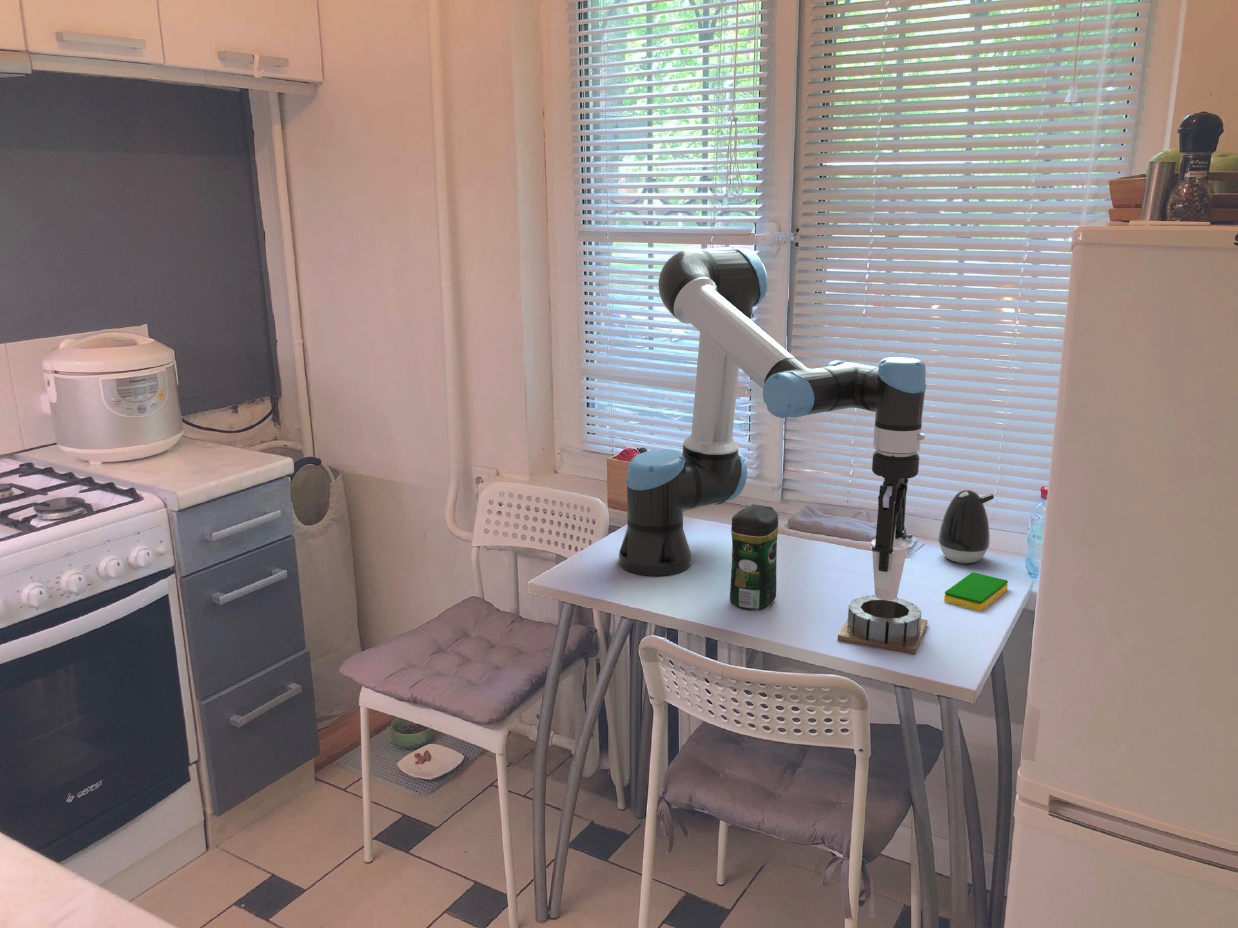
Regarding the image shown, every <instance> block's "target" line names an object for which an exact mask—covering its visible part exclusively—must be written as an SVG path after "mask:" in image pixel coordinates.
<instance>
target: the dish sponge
mask: <svg viewBox="0 0 1238 928" xmlns="http://www.w3.org/2000/svg"><path fill="white" fill-rule="evenodd" d="M1008 583H1009V581H1008V579H1003V578H1000V577H995V576H991V575H987V574H983V573H979V572H973V571H972V572H970V573H969V574H967V575H966V576H965V577H963V578H962V579H961V580H959V581H958V582H956V583H955V584H954V585H952V586H951V587H949V588H948V589H947V590H946V591H944V596H943V597H944V598H943V602H944V603H947V604H950V603H951V604H950V605H954V606H959V607H962V608H966V609H968V610H973V611H976V612H981V611H983V610H984V609H985V608H987V607H988V606H990V604H992V603H993V602H994V601H995V600H997V599H998V598H999V597H1000V596H1002V595H1003V594H1004V593H1005V592H1006V591H1007V590H1008Z"/></svg>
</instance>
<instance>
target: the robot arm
mask: <svg viewBox="0 0 1238 928" xmlns="http://www.w3.org/2000/svg"><path fill="white" fill-rule="evenodd" d="M658 291H659V293H658V294H659V297H660V300H661V301H662V303H663V305H664V307H665V308H666V310H668V312H669V313H670V314H671V315H672V316H673V317H674V318H675V319H677V320H678V321H679V322H680V323H681V324H682V323H683V324H686V325H691V326H693V327H694V328H695V329H696V330H697V331H698V332H699V338H698V339H699V341H698V354H697V364H696V373H695V388H694V399H693V411H692V422H691V424H692V425H691V434H690V435H688V436H687V437H686V438H685V439H684V440H683V443H682V452H680V451H679V450H674V449H664V448H663V449H660V450H659V449H653V450H648V451H644V452H641V453H639V454H637V455H635V456H634V457H632V458H631V460H630V461H629V463H628V466H627V473H626V474H627V475H626V479H625V482H626V485H627V486H626V491H627V492H626V498H627V499H626V504H627V505H626V508H627V509H626V510H627V512H626V514H627V515H626V516H627V517H626V518H627V520H626V521H627V525H626V526H627V527H626V531H625V534H624V537H623V539H622V541H621V542H622V543H621V546H620V549H619V553H618V562H619V563H618V564H619V566H620V567H621V568H622V569H624V570H625V571H627V572H630V573H633V574H636V575H637V574H638V575H643V576H651V577H653V576H659V577H660V576H669V575H675V574H678V573H682V572H684V571H686V570H687V569H689V568H690V567H691V565H692V552H691V550H690V549H691V548H690V546H689V543H688V539H687V535H686V534H685V529H684V512H685V511H690V510H691V511H692V510H695V509H700V508H704V507H709V506H713V505H722V504H724V503H726V502H729V501H732V500H734V499H736V498H737V497H738V496H740V494H741V493H742V492H743V490H744V488H745V486H746V483H747V479H748V466H747V465H748V464H746V463H745V460H746V459H745V457H744V455H743V454H742V452H741V451H740V450H739V444H738V443H737V442H736V441H735V440H734V438H733V433H734V421H735V420H734V419H735V413H736V412H735V411H736V401H737V391H738V380H739V372H740V370H741V371H742V372H743V373H745V375H747V376H748V377H749V378H750V379H751V380H752V381H753V382H755V383H756V384H757V385H758V386H759V387H760V388H762V399H763V403H765V404H766V410H767V411H768V412H769V413H770V414H771V415H773V416H774V417H776V418H779V419H785V418H792V419H793V418H794V419H796V418H801V417H805V416H811V415H815V414H820V413H821V414H822V413H826V412H827V413H828V412H834V411H840V410H845V409H854V408H855V409H860V410H865V411H868V412H872V413H873V412H875V417H874V418H875V420H874V421H875V422H874V428H873V429H874V430H873V431H874V432H873V443H872V447H873V449H874V452H872V464H871V471H872V473H873V474H874V475H876V476H878V477H882V478H883V479H884V481H883V483H882V484H881V485H880V486H879V490H878V491H879V492H878V497H877V500H878V503H877V505H878V506H877V509H878V510H877V517H876V518H877V519H876V521H877V522H876V531H875V539H876V541H875V547H874V548H872V549H871V551H875V552H877V556H876V571H875V585H874V584H873V585H874V588H875V587H878V588H885V589H891V586H892V573H893V559H894V552H893V543H894V535H895V539H900V540H903V539H906V538H907V532H904V530H905V529H906V528H905V527H906V526H905V522H906V521H905V520H906V519H905V517H906V506H907V505H906V504H907V491H908V483H909V479H912V478H915V477H916V476H918V474H919V468H920V454H919V453H918V452H919V451H920V450H921V449H920V448H921V440H922V441H923V440H924V439H925V437H926V436H925V434H924V433H921V431H922V427H923V425H922V424H923V421H922V420H923V419H922V418H923V411H924V404H925V403H924V402H925V394H926V389H927V385H926V378H927V377H926V368H927V367H926V365H925V362H923V361H922V360H920V359H917V358H912V357H901V356H890V357H885V358H882V359H880V361H879V364H878V366H874V365H869V364H863V363H857V362H854V361H850V360H845V361H844V360H833V361H830V362H829V363H828V364H826V365H825V366H824V367H816V368H808V367H807V366H806V365H804V363H802V361H799V360H798V359H797V358H796V357H795V356H794V355H792V354H791V353H790V352H788V351H787V349H786V348H784V347H783V346H782V345H780V344H779V343H778V342H777V340H775V339H773V337H771V336H770V335H769V334H768V333H766V332H765V331H764V330H762V329H761V328H760V327H759V325H757V324H756V323H755V322H753V321H752V317H753V309H754V307H756V306H757V305H760V303H762V300H764V298H765V297H766V296H767V295H766V294H767V291H768V275H767V271H766V268H765V265H764V263H763V262H762V261H761V258H760V257H759V255H757V254H756V253H755V252H754V251H752V250H750V249H748V248H740V247H730V246H727V247H717V248H715V247H714V248H701V249H698V248H693V249H692V248H691V249H690V248H689V249H684V250H681V251H678V252H677V253H675V254H674V255H672V256H670V258H669V259H668V260H667V261H666V262H665V263H664V265H663V266H662V269H661V271H660V273H659V277H658ZM895 527H896V530H895Z"/></svg>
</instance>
